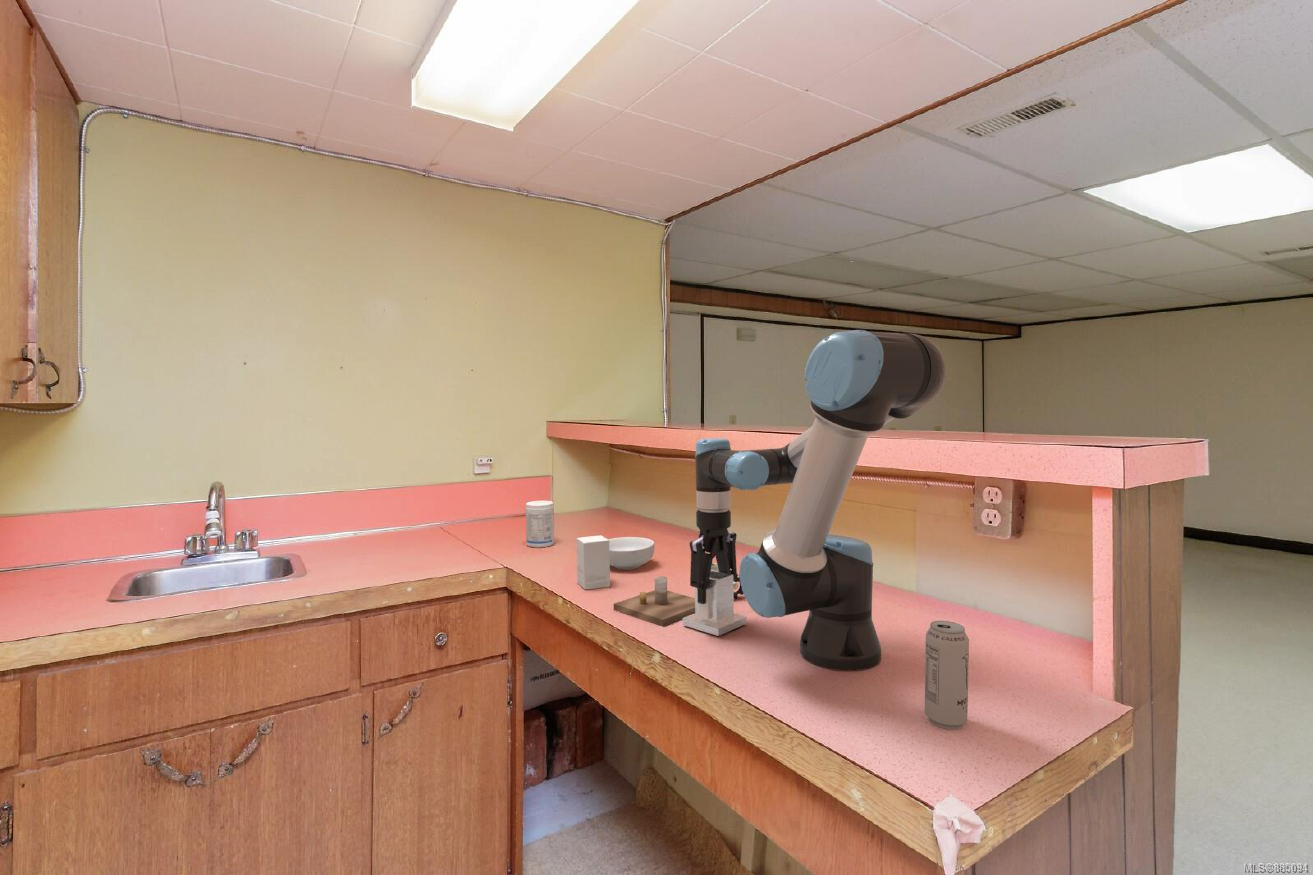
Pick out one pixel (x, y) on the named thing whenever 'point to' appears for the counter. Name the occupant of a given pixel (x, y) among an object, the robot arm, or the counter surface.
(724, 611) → the white hollow block
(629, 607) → the base board
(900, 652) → the counter surface
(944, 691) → the energy drink can
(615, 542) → the cereal bowl
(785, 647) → the counter surface
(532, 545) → the supplement tub
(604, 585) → the supplement box
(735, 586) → the valve
